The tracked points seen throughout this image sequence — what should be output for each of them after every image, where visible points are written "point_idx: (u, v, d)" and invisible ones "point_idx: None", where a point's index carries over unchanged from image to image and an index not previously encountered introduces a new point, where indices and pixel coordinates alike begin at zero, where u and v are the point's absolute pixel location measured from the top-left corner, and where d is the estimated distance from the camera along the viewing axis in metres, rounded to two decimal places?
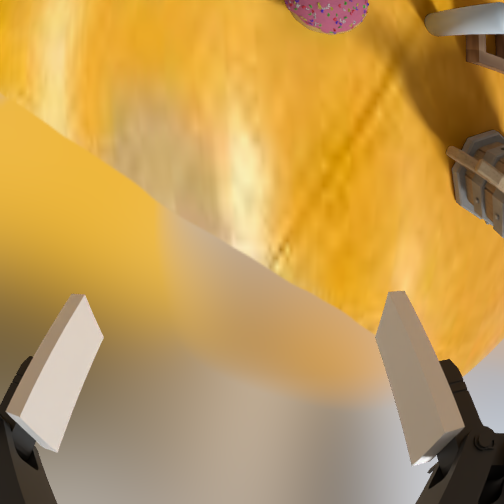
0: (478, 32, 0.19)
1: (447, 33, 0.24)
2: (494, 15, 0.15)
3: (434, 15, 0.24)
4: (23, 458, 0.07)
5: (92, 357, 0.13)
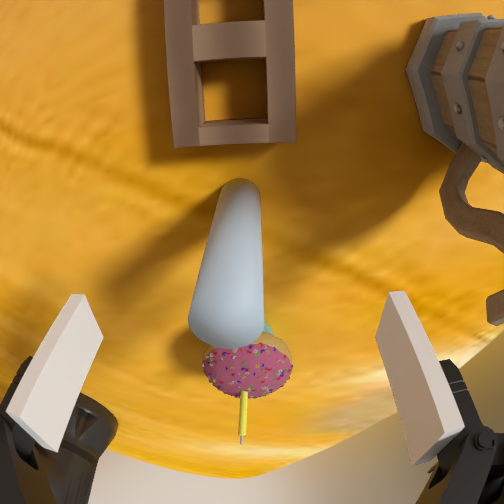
0: None
1: None
2: (233, 346, 0.14)
3: None
4: (23, 458, 0.07)
5: (92, 357, 0.13)
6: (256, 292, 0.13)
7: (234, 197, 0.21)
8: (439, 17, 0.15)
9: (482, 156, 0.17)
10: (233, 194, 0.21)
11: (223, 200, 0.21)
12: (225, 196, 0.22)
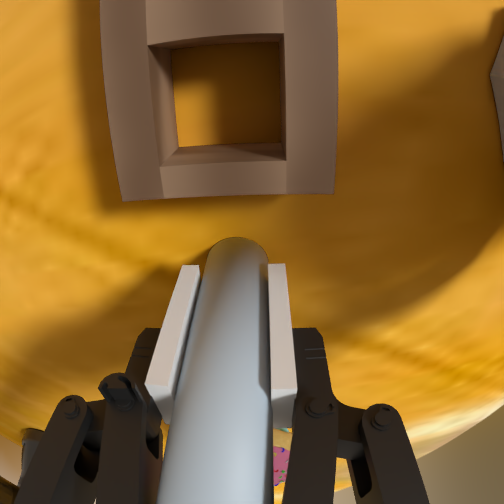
0: None
1: None
2: None
3: None
4: None
5: None
6: None
7: (225, 289, 0.12)
8: None
9: None
10: (224, 280, 0.13)
11: (207, 289, 0.13)
12: (212, 280, 0.13)
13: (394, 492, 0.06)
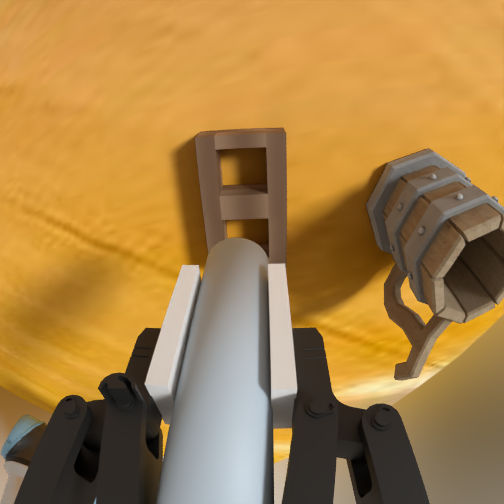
0: None
1: None
2: None
3: None
4: None
5: None
6: None
7: (225, 289, 0.12)
8: (396, 166, 0.29)
9: None
10: (224, 280, 0.13)
11: (208, 290, 0.13)
12: (212, 281, 0.13)
13: (394, 492, 0.06)
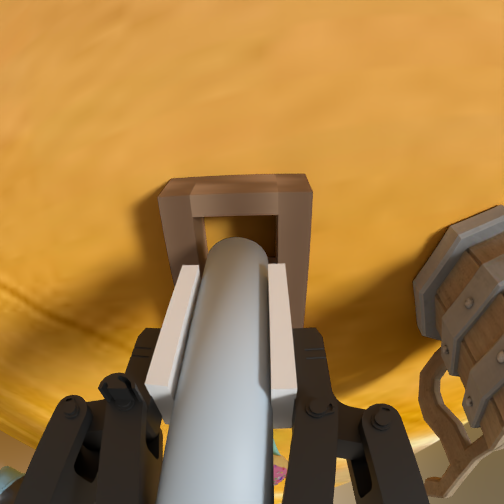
0: None
1: None
2: None
3: None
4: None
5: None
6: None
7: (225, 289, 0.12)
8: (463, 234, 0.18)
9: None
10: (224, 280, 0.13)
11: (207, 289, 0.13)
12: (211, 280, 0.13)
13: (394, 492, 0.06)
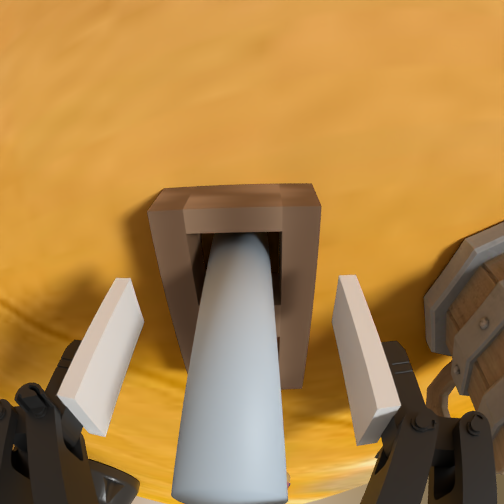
0: None
1: None
2: None
3: None
4: (68, 446, 0.08)
5: (135, 341, 0.14)
6: (277, 463, 0.07)
7: (233, 257, 0.14)
8: (479, 248, 0.17)
9: None
10: (231, 250, 0.15)
11: (217, 259, 0.15)
12: (220, 252, 0.15)
13: (473, 494, 0.05)
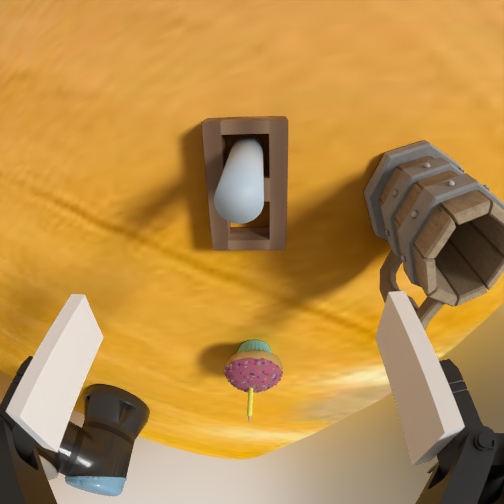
0: None
1: None
2: (243, 221, 0.21)
3: None
4: (23, 458, 0.07)
5: (92, 357, 0.13)
6: (259, 183, 0.21)
7: (243, 143, 0.28)
8: (392, 155, 0.30)
9: None
10: (243, 141, 0.28)
11: (235, 145, 0.28)
12: (237, 143, 0.29)
13: None
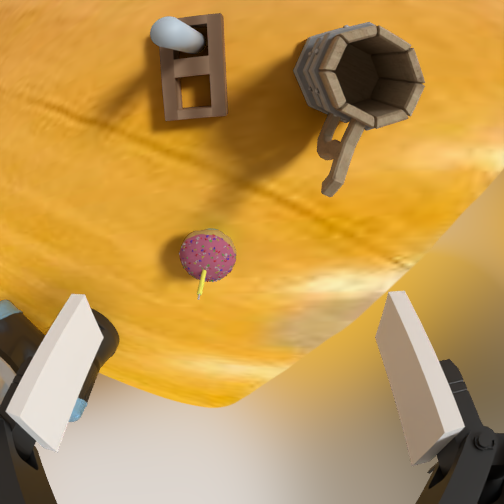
0: (192, 36, 0.27)
1: (201, 42, 0.32)
2: (169, 45, 0.24)
3: None
4: (23, 458, 0.07)
5: (92, 357, 0.13)
6: (182, 22, 0.24)
7: None
8: (312, 36, 0.33)
9: None
10: None
11: None
12: None
13: None
